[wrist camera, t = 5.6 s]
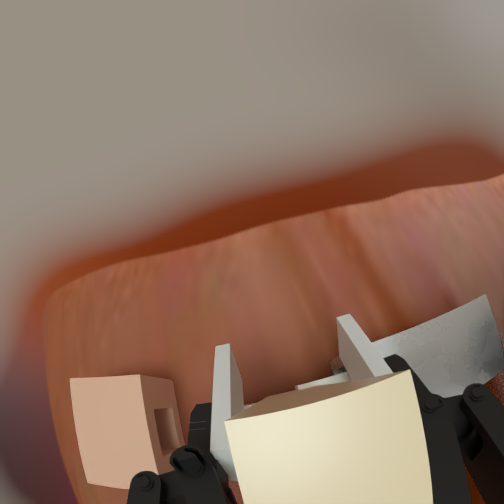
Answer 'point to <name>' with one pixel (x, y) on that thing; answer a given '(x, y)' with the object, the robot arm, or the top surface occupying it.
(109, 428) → the socket block
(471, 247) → the top surface
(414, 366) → the grey rectangular block
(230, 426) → the cream pillar on base
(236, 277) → the top surface
